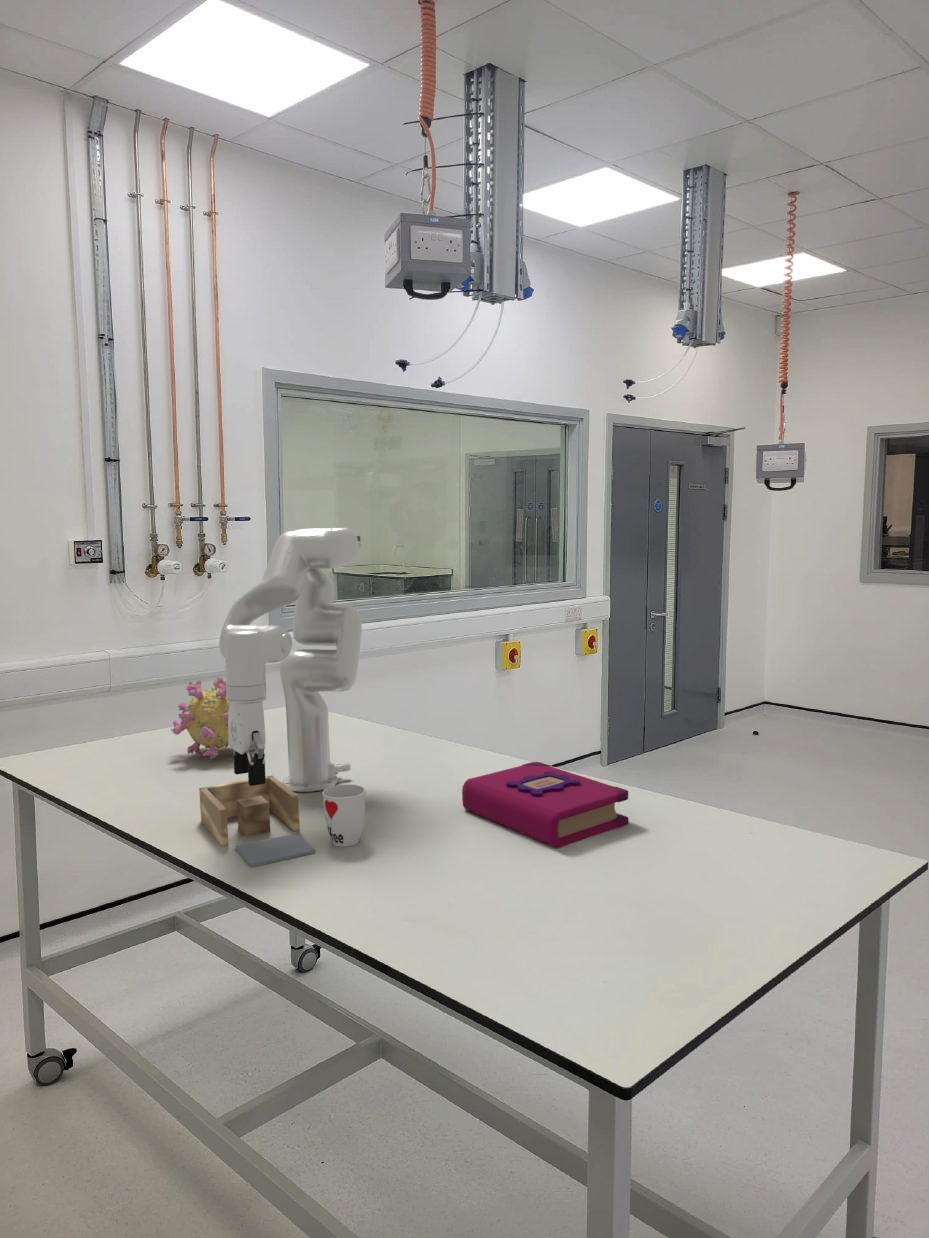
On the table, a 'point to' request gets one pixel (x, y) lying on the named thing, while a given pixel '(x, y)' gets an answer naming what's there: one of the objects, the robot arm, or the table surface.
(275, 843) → the mat
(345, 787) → the cup
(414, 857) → the table surface
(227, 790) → the oak u-shaped frame
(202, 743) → the educational model
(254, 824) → the block
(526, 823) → the book
